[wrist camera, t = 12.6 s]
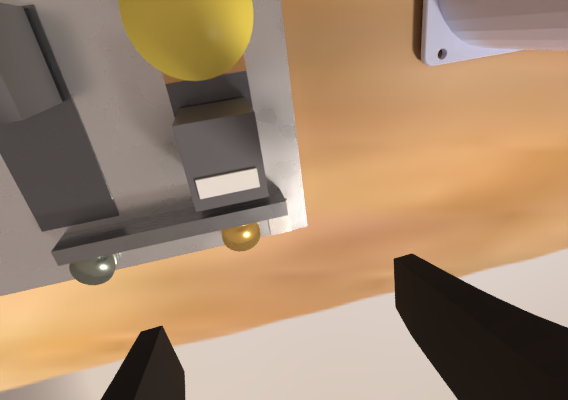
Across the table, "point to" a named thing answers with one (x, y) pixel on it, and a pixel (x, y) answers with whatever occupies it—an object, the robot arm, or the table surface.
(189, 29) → the cap
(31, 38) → the block
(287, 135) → the panel
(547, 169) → the table surface
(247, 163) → the breaker
